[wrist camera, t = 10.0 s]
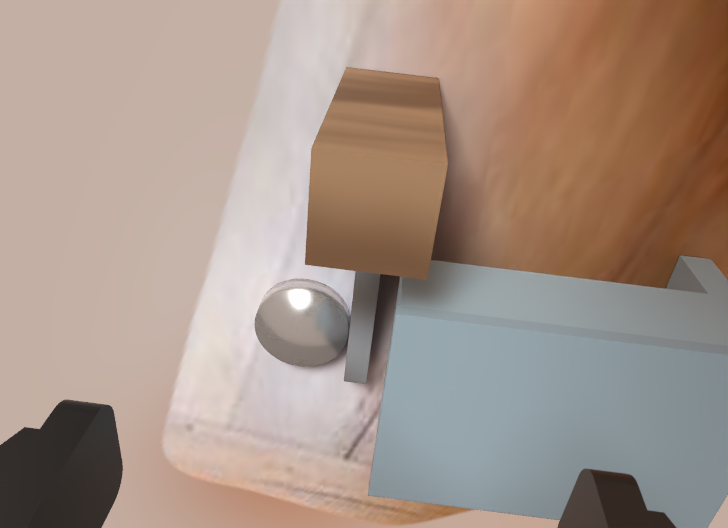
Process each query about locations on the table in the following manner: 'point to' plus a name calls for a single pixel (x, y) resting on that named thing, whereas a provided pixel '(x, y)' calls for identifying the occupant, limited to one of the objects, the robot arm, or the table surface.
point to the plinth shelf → (555, 390)
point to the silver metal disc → (302, 322)
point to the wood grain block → (376, 190)
